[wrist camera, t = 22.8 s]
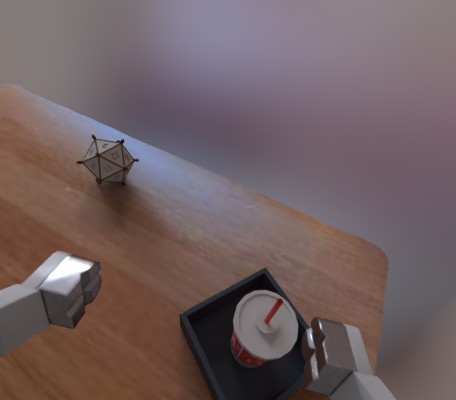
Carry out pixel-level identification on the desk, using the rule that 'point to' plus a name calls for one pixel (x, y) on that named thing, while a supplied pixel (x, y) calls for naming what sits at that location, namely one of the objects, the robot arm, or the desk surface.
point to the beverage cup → (262, 328)
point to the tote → (221, 348)
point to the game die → (108, 160)
